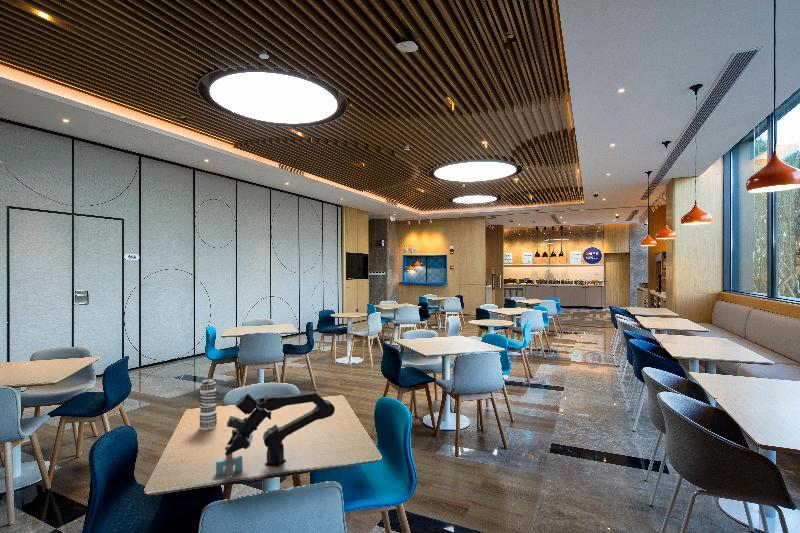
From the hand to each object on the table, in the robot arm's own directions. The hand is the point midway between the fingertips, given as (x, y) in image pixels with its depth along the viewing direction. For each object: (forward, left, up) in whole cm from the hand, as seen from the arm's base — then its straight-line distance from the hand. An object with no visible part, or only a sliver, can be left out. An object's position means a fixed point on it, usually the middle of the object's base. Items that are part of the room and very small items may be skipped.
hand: (225, 452), depth 174 cm
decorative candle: (+49, -38, -8) cm, 63 cm away
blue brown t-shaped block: (-1, -1, -8) cm, 8 cm away
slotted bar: (-1, -1, -8) cm, 8 cm away
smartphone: (+16, -28, -9) cm, 33 cm away
